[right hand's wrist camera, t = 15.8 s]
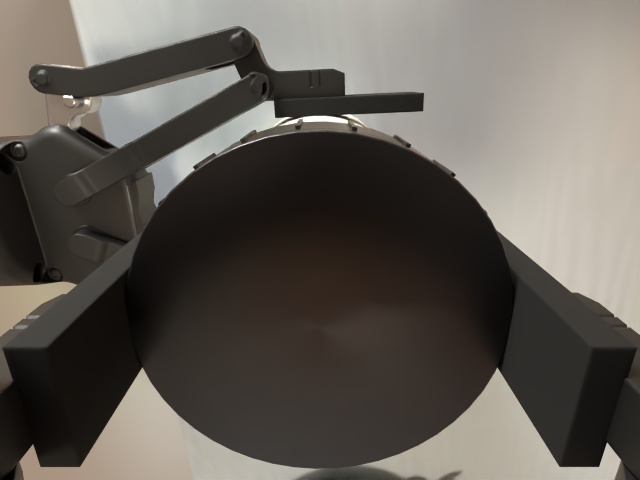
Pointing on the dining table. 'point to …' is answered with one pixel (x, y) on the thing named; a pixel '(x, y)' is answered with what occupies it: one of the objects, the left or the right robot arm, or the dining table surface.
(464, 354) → the lid
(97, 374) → the right robot arm
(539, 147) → the dining table surface
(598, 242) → the dining table surface
